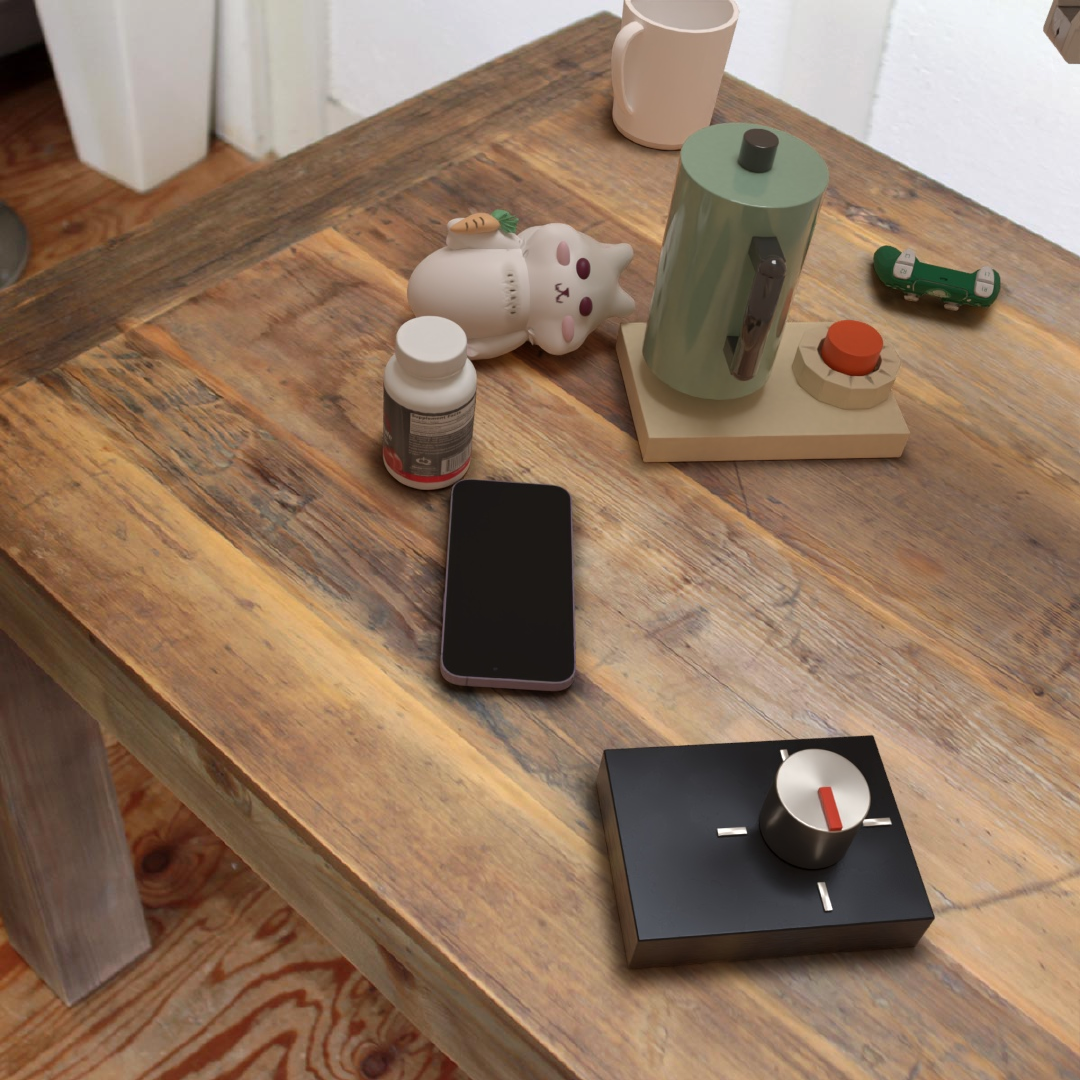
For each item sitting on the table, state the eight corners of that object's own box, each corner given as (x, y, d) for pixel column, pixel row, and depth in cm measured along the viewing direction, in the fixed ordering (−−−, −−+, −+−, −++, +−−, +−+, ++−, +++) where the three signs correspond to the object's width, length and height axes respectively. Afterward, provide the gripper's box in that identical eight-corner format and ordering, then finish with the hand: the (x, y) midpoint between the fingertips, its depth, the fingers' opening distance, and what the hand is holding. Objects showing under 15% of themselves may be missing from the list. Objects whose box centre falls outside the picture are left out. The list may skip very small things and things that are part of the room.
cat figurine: (397, 219, 82) (639, 201, 83) (400, 211, 90) (622, 194, 90) (412, 373, 85) (646, 354, 86) (414, 352, 92) (629, 335, 93)
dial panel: (857, 765, 70) (874, 732, 68) (916, 946, 63) (937, 916, 61) (595, 780, 68) (603, 746, 65) (628, 969, 61) (638, 939, 59)
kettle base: (856, 345, 93) (873, 300, 90) (904, 457, 86) (923, 412, 83) (615, 347, 91) (623, 300, 88) (643, 462, 83) (653, 416, 80)
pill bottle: (375, 435, 83) (376, 310, 75) (460, 426, 84) (469, 303, 77) (390, 497, 79) (393, 373, 72) (478, 487, 81) (490, 364, 73)
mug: (662, 84, 114) (683, -34, 107) (735, 134, 110) (763, 15, 102) (565, 120, 109) (580, -2, 101) (638, 173, 105) (659, 50, 97)
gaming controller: (862, 295, 100) (874, 284, 94) (874, 245, 100) (887, 231, 94) (984, 323, 99) (1004, 314, 93) (997, 273, 99) (1018, 260, 93)
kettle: (748, 291, 90) (804, 77, 78) (798, 432, 81) (871, 214, 69) (625, 291, 88) (665, 73, 77) (663, 434, 79) (714, 213, 68)
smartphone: (572, 485, 80) (577, 684, 70) (570, 498, 81) (575, 697, 71) (451, 477, 80) (438, 676, 70) (450, 490, 81) (437, 689, 70)
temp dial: (750, 789, 65) (767, 746, 62) (836, 785, 65) (858, 742, 63) (770, 872, 62) (790, 831, 59) (861, 866, 62) (884, 826, 60)
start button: (866, 340, 88) (874, 319, 87) (882, 376, 86) (890, 355, 84) (814, 340, 87) (821, 319, 86) (829, 377, 85) (836, 356, 84)
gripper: (1393, -158, 50) (1221, 167, 60) (1158, -333, 63) (1051, -43, 73) (1237, -164, 49) (1090, 167, 59) (1033, -341, 62) (942, -46, 72)
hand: (1067, 49), depth 66 cm, fingers closed
